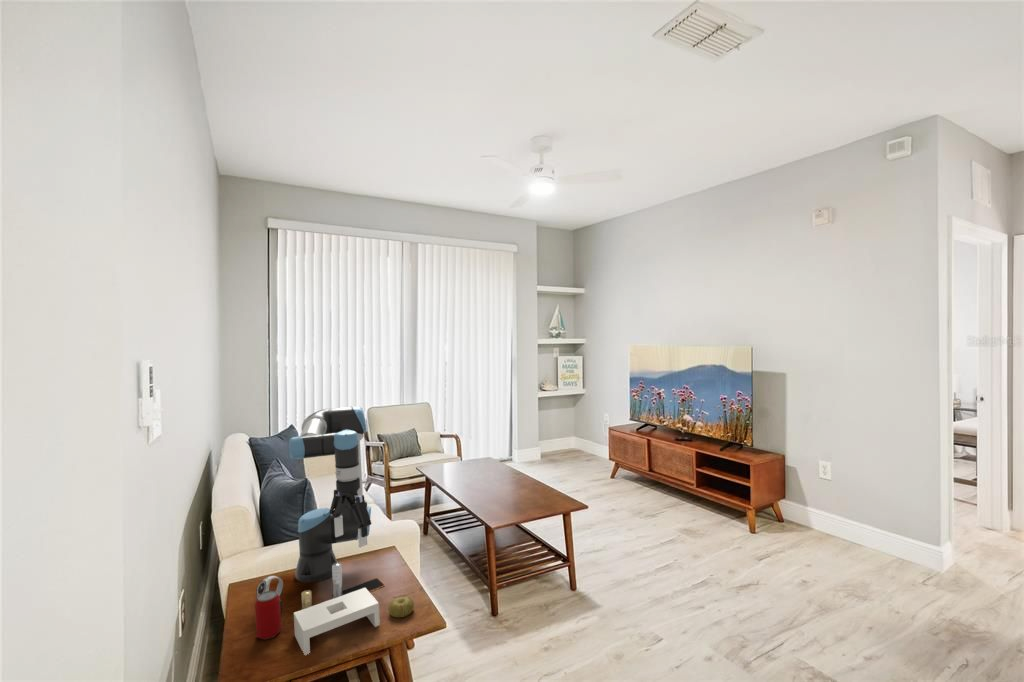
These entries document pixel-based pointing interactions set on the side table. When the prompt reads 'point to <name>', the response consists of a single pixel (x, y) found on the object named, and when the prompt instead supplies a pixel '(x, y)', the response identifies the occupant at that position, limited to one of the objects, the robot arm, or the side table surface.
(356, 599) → the white bench
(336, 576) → the tall steel pin
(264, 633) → the beverage can
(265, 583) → the watch
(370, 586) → the smartphone
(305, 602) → the short brass pin
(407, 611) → the sculpture
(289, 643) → the side table surface
